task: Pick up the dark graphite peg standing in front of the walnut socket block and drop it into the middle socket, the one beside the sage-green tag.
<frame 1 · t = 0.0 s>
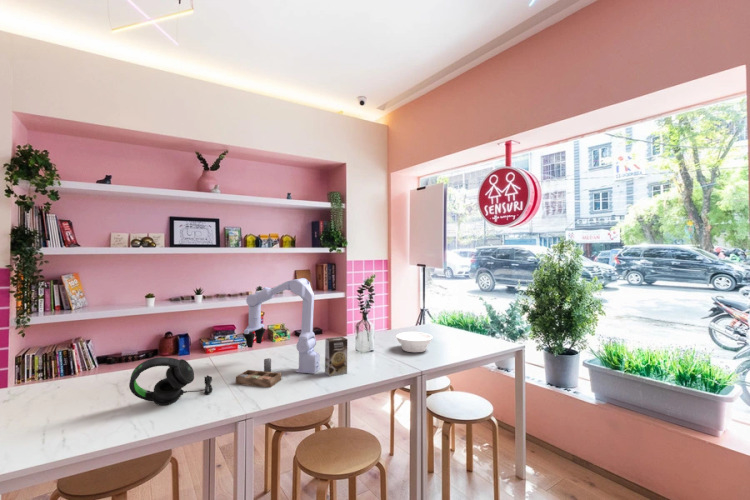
hand: (254, 345, 172), 10 cm above the table, tool pointing down, fingers open, 7 cm apart
socket block: (258, 381, 151), on the table
headset: (173, 400, 132), on the table
bowl: (414, 350, 201), on the table
coffee box: (336, 373, 162), on the table
peg: (267, 373, 161), on the table
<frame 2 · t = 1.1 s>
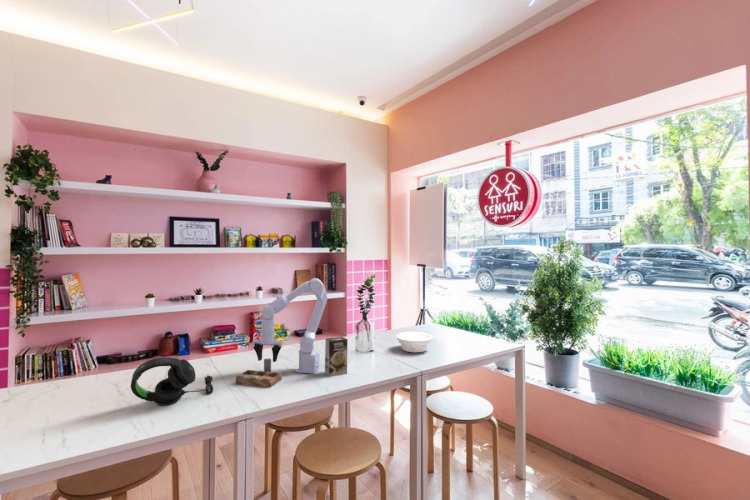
hand: (267, 360, 161), 6 cm above the table, tool pointing down, fingers open, 7 cm apart
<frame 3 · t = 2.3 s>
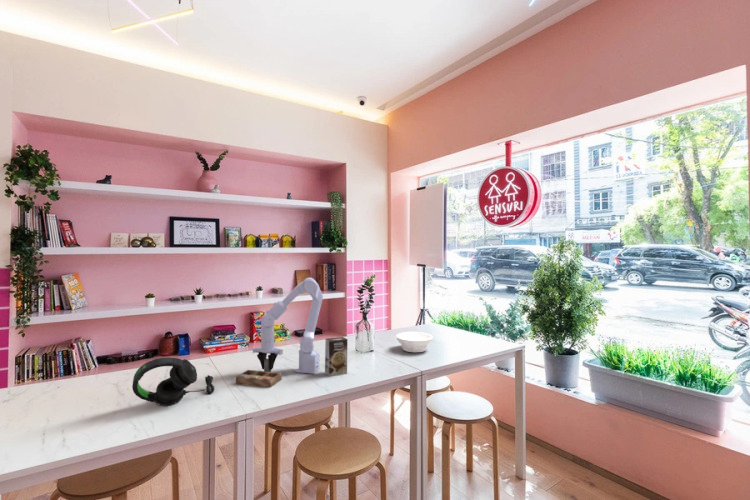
hand: (267, 368, 161), 2 cm above the table, tool pointing down, fingers closed on peg, 3 cm apart
peg: (267, 373, 161), on the table, touching gripper
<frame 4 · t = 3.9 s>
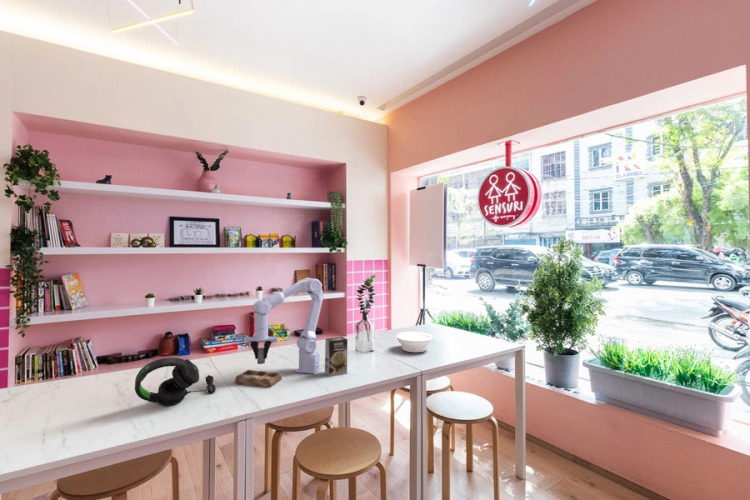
hand: (261, 358, 153), 9 cm above the table, tool pointing down, fingers closed on peg, 3 cm apart
peg: (261, 362, 153), point 7 cm above the table, touching gripper
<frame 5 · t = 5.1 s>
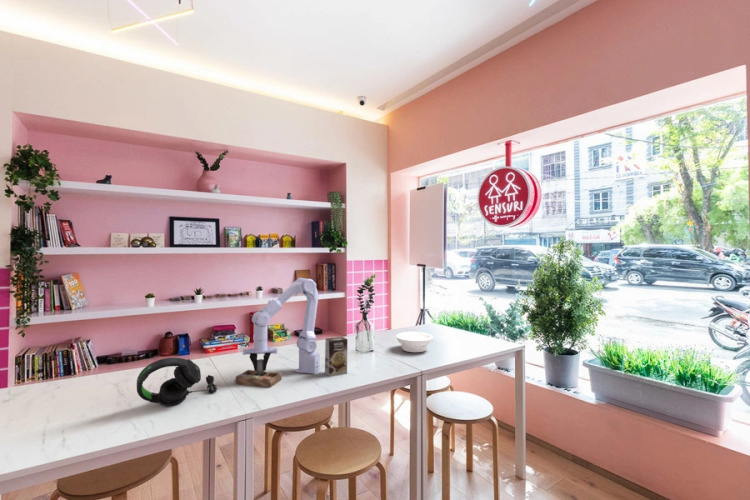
hand: (260, 370, 152), 5 cm above the table, tool pointing down, fingers closed on peg, 3 cm apart
peg: (260, 374, 152), point 3 cm above the table, touching gripper
when the fingers open (4 cm above the table, at t = 5.7 s): peg drops 2 cm, resting in socket block.
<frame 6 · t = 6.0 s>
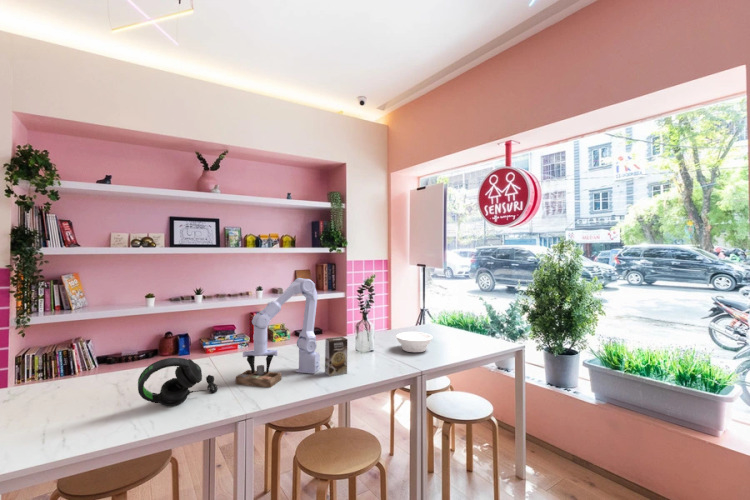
hand: (260, 372, 152), 4 cm above the table, tool pointing down, fingers open, 5 cm apart
peg: (260, 380, 152), resting in socket block
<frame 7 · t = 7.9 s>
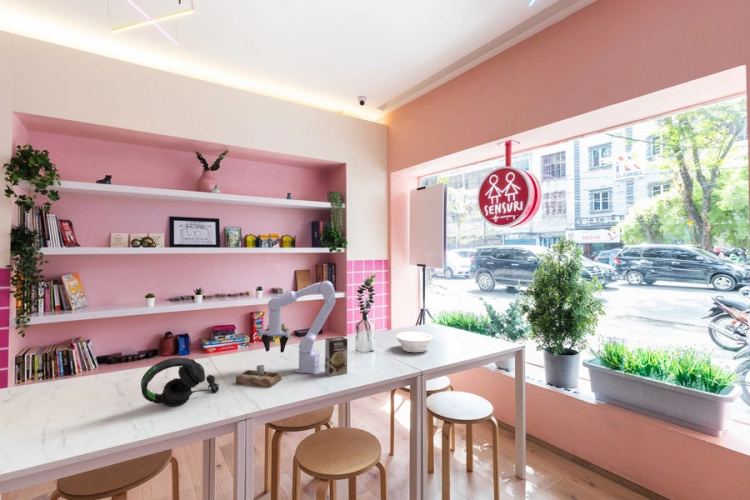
hand: (274, 351, 164), 9 cm above the table, tool pointing down, fingers open, 7 cm apart
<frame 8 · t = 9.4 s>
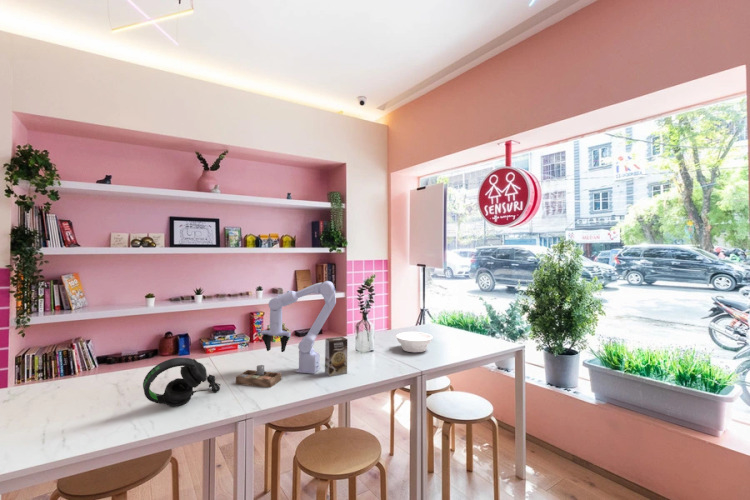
hand: (275, 350, 165), 9 cm above the table, tool pointing down, fingers open, 7 cm apart
at the end: peg 0.0 cm from the target spot on the socket block, point 0.0 cm above the socket block's base; peg tilted 0°; the gripper is holding nothing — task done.
